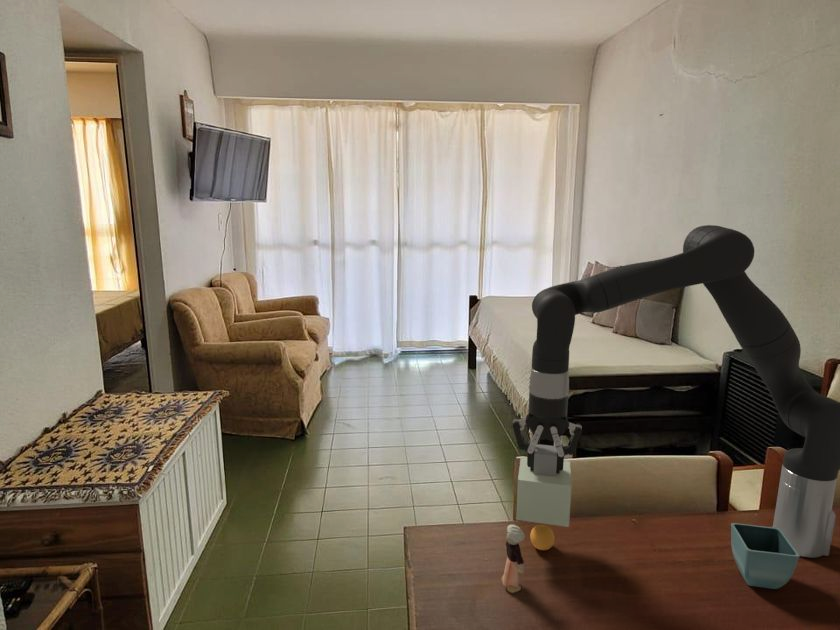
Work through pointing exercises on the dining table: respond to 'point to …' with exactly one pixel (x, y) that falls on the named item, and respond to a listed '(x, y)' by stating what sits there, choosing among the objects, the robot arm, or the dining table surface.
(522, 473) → the pale green cube
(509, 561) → the grandmother figurine
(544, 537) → the ball
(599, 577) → the dining table surface
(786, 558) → the flower pot
